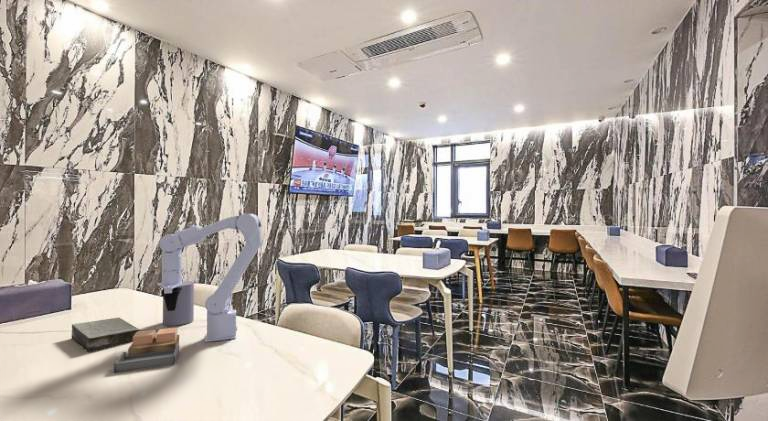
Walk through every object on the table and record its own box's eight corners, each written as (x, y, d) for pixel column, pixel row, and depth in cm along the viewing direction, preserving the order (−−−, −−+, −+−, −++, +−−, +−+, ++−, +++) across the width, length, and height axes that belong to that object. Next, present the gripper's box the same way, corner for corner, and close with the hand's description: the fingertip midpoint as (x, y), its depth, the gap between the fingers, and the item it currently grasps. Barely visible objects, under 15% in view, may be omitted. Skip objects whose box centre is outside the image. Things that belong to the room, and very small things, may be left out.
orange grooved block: (179, 343, 114) (179, 334, 114) (175, 353, 107) (175, 343, 107) (135, 349, 110) (135, 339, 110) (127, 359, 102) (128, 348, 102)
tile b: (155, 337, 112) (155, 329, 112) (152, 343, 107) (152, 334, 107) (136, 339, 110) (137, 331, 110) (132, 345, 105) (132, 336, 105)
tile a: (177, 335, 114) (177, 327, 114) (175, 340, 109) (175, 332, 109) (159, 337, 112) (159, 329, 112) (156, 342, 107) (156, 334, 107)
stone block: (88, 354, 106) (88, 337, 106) (70, 339, 118) (70, 324, 118) (140, 341, 117) (140, 326, 117) (119, 329, 129) (119, 315, 129)
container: (196, 322, 135) (196, 284, 135) (165, 328, 129) (165, 287, 129) (190, 316, 143) (190, 279, 143) (160, 321, 137) (161, 283, 137)
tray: (179, 352, 107) (179, 345, 107) (174, 364, 99) (175, 355, 99) (123, 360, 102) (123, 351, 102) (113, 372, 94) (113, 363, 94)
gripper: (162, 267, 123) (161, 305, 123) (153, 274, 109) (152, 317, 110) (185, 266, 126) (184, 303, 126) (179, 272, 112) (178, 315, 112)
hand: (171, 310), depth 118 cm, fingers closed
